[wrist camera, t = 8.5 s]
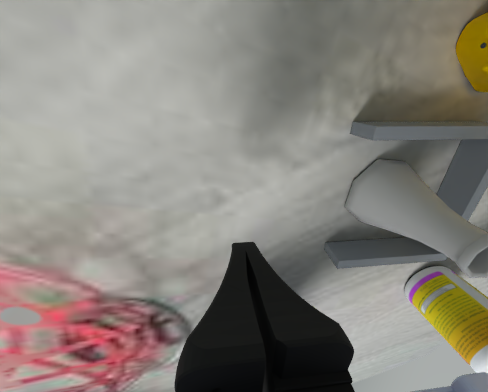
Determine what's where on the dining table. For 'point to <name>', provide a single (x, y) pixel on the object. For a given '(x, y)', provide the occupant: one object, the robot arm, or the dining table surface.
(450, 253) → the flask
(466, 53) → the figure statuette
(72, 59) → the dining table surface
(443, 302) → the supplement bottle
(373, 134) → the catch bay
